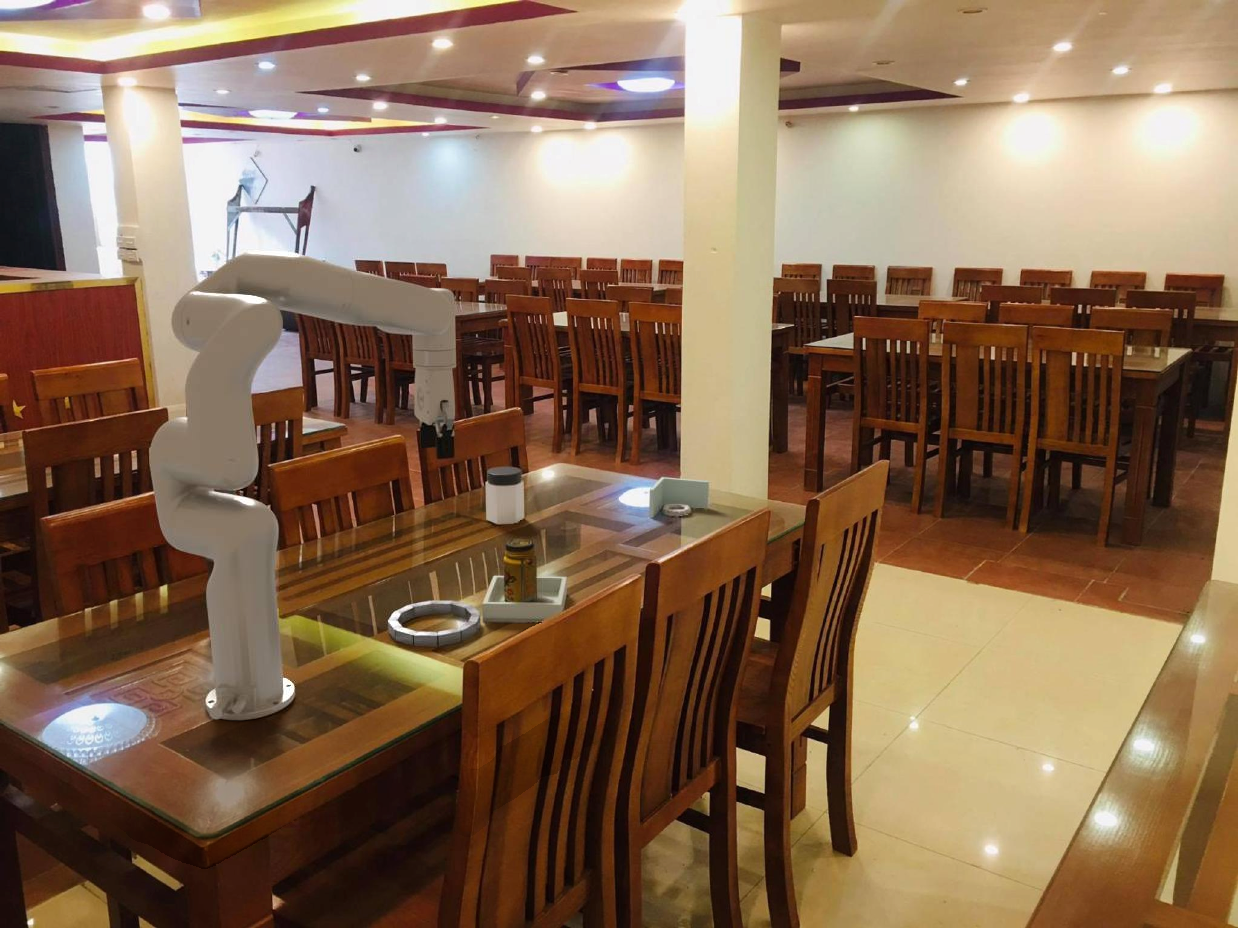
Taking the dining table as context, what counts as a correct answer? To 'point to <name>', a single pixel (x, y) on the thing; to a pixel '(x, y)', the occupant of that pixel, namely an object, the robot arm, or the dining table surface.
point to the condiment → (521, 573)
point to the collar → (434, 637)
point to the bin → (519, 610)
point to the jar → (504, 495)
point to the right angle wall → (678, 496)
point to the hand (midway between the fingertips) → (437, 452)
